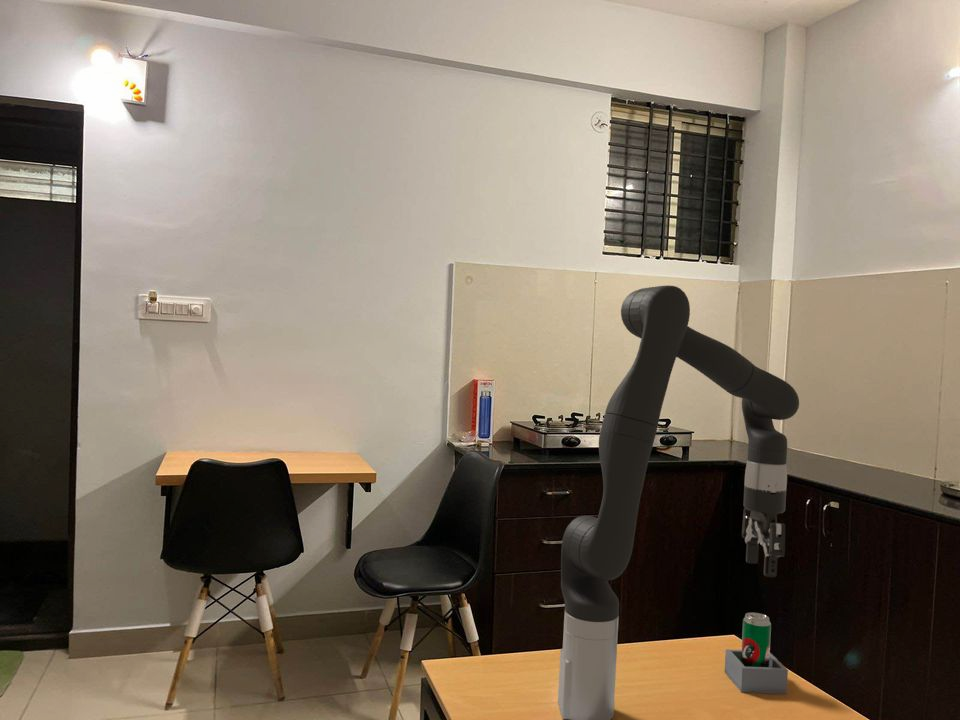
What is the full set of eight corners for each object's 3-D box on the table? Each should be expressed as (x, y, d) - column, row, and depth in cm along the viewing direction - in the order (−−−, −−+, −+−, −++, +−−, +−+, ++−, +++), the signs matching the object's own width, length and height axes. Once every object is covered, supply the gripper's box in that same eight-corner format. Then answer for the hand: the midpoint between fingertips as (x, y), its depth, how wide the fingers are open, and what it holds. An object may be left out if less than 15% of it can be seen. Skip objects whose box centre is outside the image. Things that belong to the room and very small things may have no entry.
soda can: (770, 685, 137) (773, 622, 137) (742, 682, 138) (745, 619, 138) (765, 674, 142) (768, 613, 142) (738, 670, 143) (741, 610, 143)
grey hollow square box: (741, 692, 135) (742, 668, 135) (724, 671, 144) (725, 649, 144) (786, 693, 136) (787, 670, 136) (767, 673, 144) (768, 650, 144)
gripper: (732, 478, 146) (727, 558, 147) (761, 491, 132) (756, 580, 132) (768, 480, 147) (764, 559, 147) (801, 493, 132) (796, 582, 132)
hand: (760, 569), depth 140 cm, fingers open, 8 cm apart
